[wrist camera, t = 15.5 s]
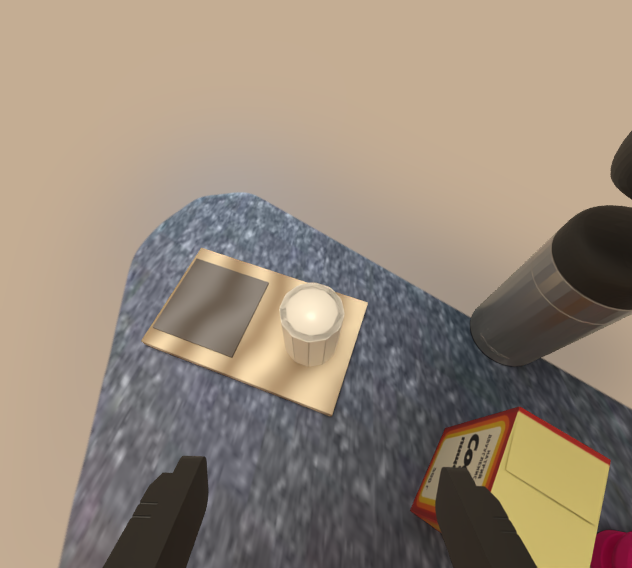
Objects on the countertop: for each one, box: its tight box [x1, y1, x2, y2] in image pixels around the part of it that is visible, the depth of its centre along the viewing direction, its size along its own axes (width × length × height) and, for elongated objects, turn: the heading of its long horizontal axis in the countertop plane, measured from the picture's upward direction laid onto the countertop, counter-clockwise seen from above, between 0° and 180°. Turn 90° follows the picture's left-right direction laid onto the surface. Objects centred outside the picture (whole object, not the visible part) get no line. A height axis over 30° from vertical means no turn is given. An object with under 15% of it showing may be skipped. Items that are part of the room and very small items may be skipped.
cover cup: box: [279, 283, 345, 367], centre depth 38 cm, size 6×6×9 cm
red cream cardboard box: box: [410, 407, 611, 568], centre depth 29 cm, size 10×6×16 cm
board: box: [142, 248, 368, 417], centre depth 44 cm, size 25×15×2 cm, turn 70°
